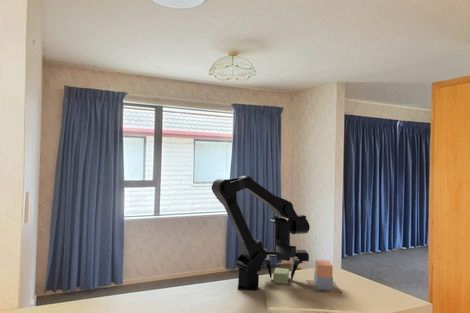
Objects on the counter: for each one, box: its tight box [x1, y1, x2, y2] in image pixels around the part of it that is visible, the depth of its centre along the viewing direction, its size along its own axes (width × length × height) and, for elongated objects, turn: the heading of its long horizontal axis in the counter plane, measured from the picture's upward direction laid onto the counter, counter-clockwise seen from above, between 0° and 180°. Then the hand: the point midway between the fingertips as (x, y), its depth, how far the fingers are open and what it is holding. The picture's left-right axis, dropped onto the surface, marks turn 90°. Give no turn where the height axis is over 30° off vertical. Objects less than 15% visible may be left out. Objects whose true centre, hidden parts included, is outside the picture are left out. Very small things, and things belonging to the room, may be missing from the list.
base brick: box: [313, 270, 334, 290], centre depth 119 cm, size 5×7×4 cm
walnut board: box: [305, 279, 343, 294], centre depth 119 cm, size 10×12×1 cm
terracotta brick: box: [314, 259, 334, 278], centre depth 119 cm, size 5×7×4 cm
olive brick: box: [272, 267, 290, 285], centre depth 125 cm, size 5×7×4 cm
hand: (281, 278), depth 125 cm, fingers open, 7 cm apart
